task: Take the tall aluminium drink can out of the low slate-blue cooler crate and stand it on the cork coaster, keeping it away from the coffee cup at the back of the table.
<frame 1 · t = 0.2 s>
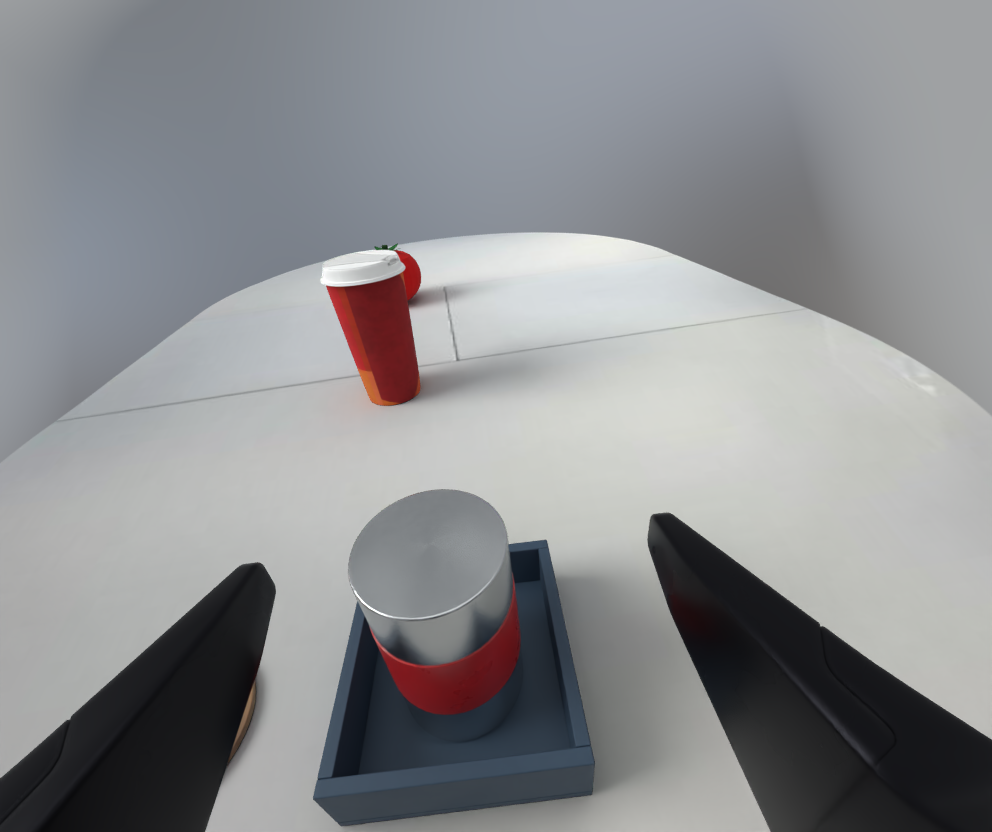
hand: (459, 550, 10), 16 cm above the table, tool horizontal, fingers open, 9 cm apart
coaster: (171, 733, 21), on the table
can: (464, 671, 22), resting on crate
crate: (465, 675, 22), on the table
tomato: (397, 303, 77), on the table
coffee cup: (395, 393, 49), on the table
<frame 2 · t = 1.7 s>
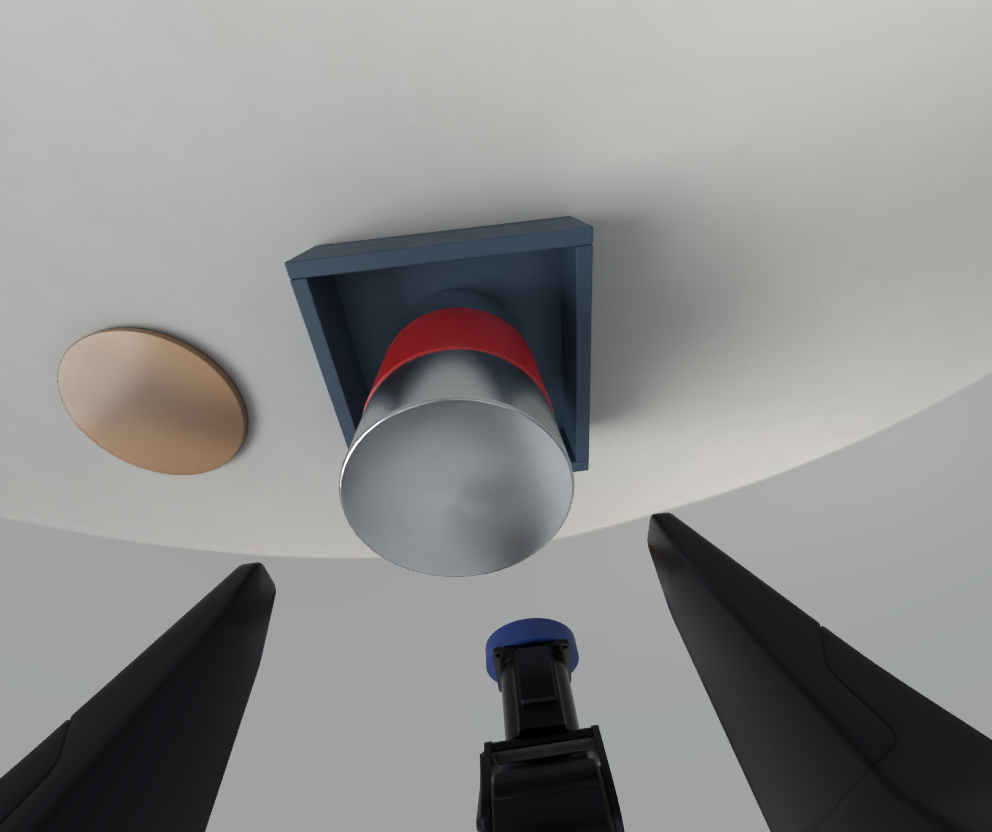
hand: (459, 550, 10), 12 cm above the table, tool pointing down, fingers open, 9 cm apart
coaster: (160, 406, 21), on the table
can: (461, 355, 20), resting on crate
crate: (461, 351, 20), on the table
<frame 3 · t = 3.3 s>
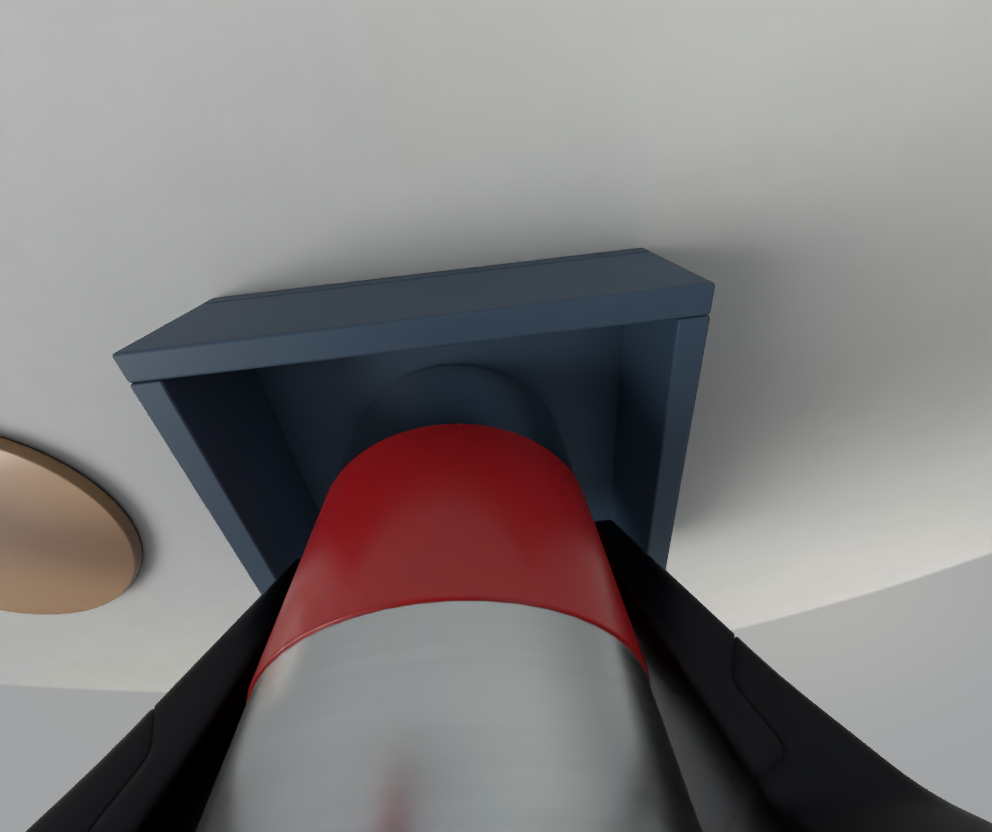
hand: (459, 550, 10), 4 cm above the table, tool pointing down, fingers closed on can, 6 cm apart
coaster: (2, 528, 14), on the table
can: (459, 457, 13), point 1 cm above the table, touching crate, gripper
crate: (459, 447, 13), on the table
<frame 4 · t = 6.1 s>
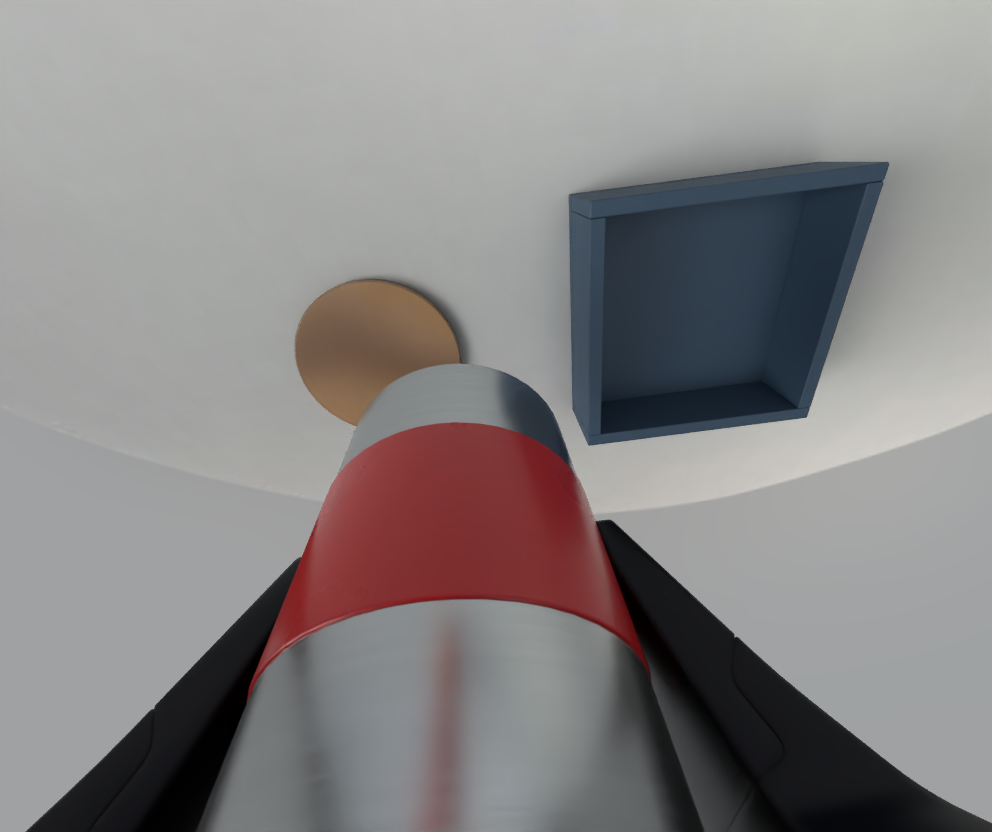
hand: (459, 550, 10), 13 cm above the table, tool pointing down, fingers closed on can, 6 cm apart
coaster: (380, 360, 21), on the table
can: (459, 456, 13), point 10 cm above the table, touching gripper
crate: (679, 302, 21), on the table
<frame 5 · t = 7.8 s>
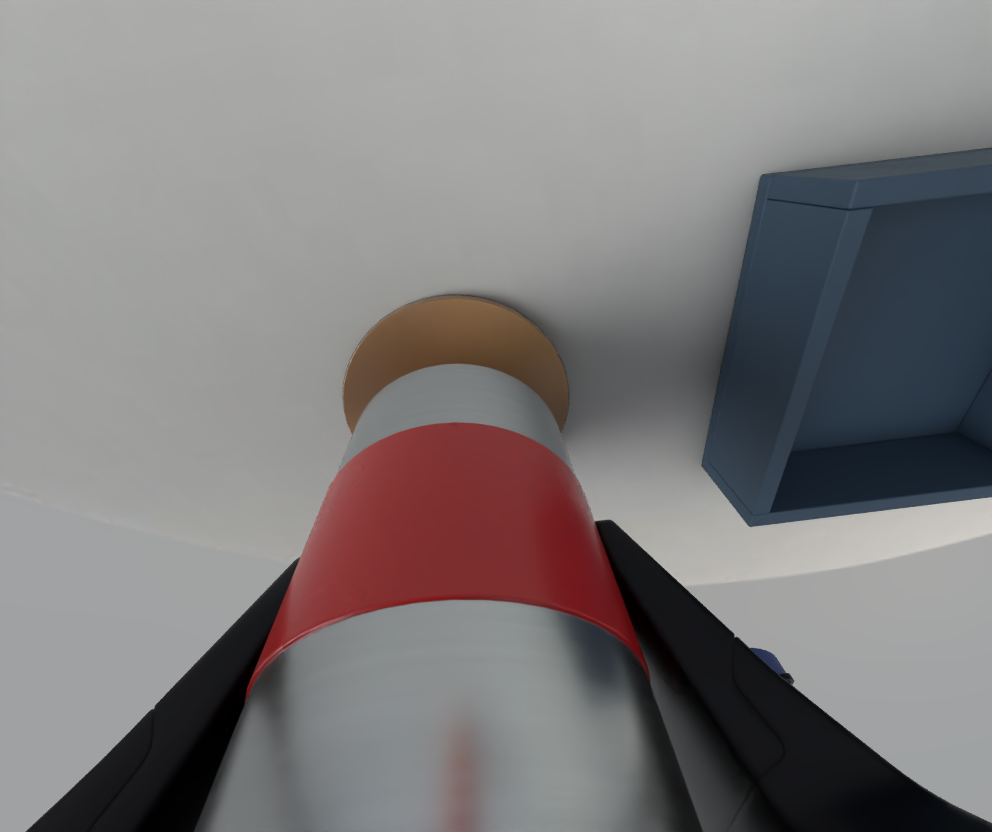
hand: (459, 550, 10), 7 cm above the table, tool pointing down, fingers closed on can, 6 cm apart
coaster: (458, 404, 15), on the table
can: (459, 456, 13), point 3 cm above the table, touching gripper
crate: (873, 329, 15), on the table
when the fingers open (4 cm above the table, at t = 9.1 s): can stays where it is, resting on coaster.
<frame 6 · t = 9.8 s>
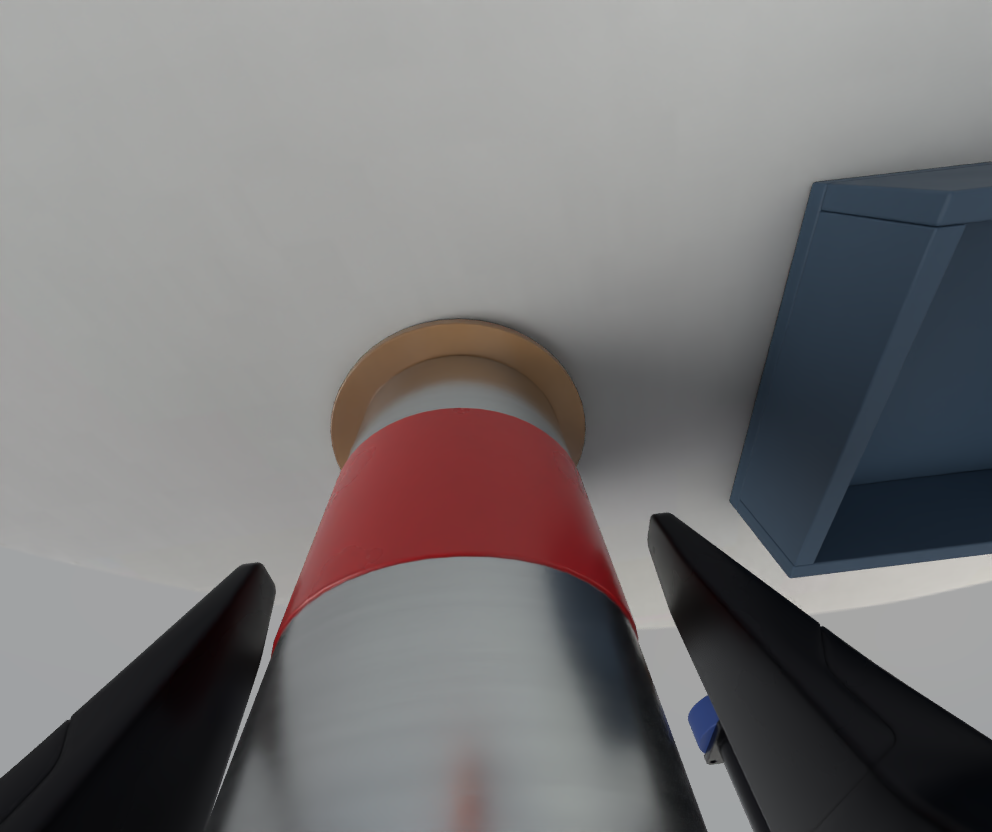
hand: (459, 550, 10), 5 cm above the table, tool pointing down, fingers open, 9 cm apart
coaster: (461, 438, 14), on the table
can: (461, 445, 13), resting on coaster
crate: (928, 355, 13), on the table
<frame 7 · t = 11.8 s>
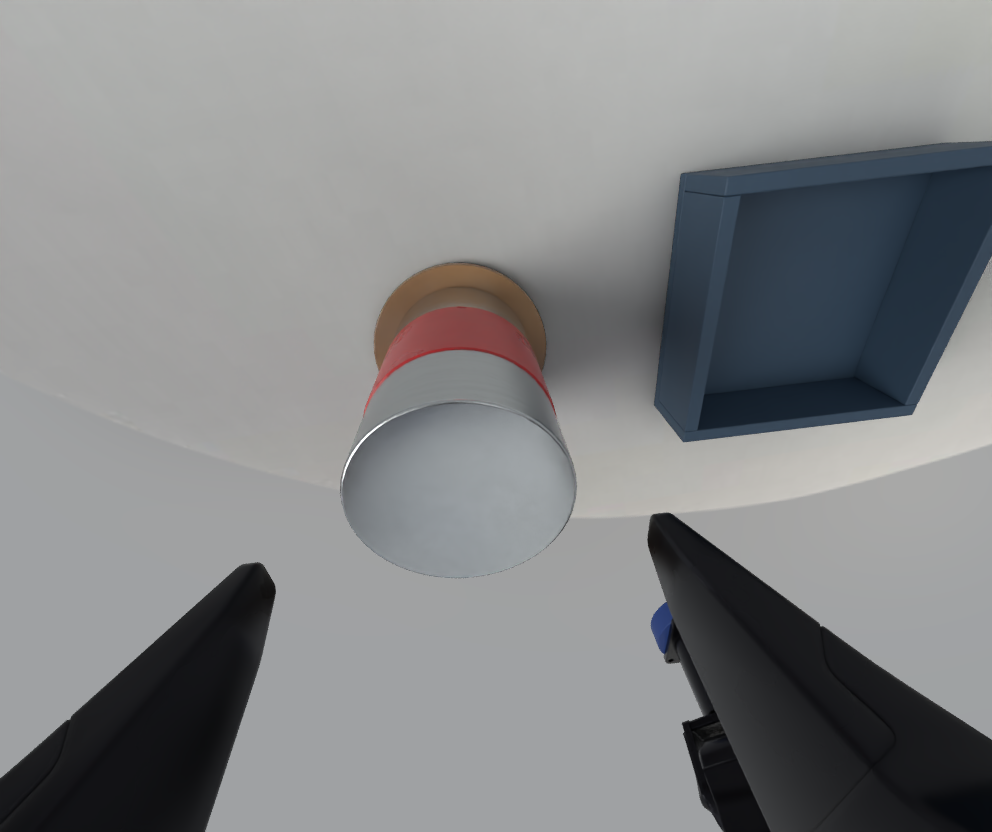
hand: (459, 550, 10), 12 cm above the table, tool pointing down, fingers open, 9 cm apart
coaster: (461, 350, 20), on the table
can: (461, 353, 20), resting on coaster
crate: (778, 292, 19), on the table
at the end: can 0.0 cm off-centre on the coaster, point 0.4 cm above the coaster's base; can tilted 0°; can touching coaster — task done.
